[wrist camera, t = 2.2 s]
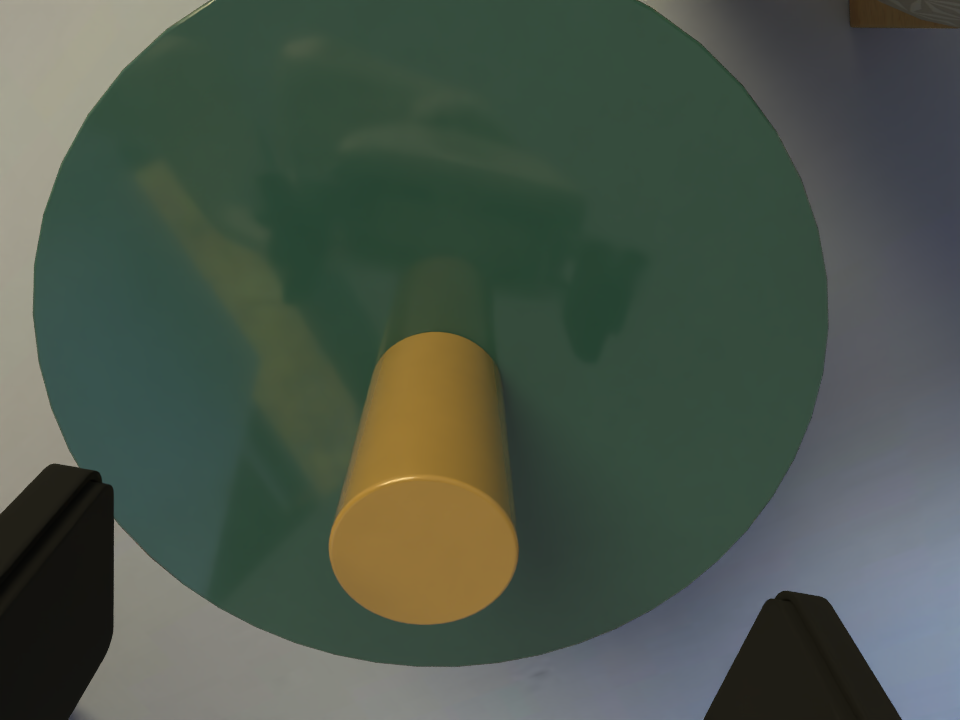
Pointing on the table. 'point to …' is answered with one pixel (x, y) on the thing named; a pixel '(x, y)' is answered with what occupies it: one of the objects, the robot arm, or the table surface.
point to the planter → (905, 13)
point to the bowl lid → (431, 317)
